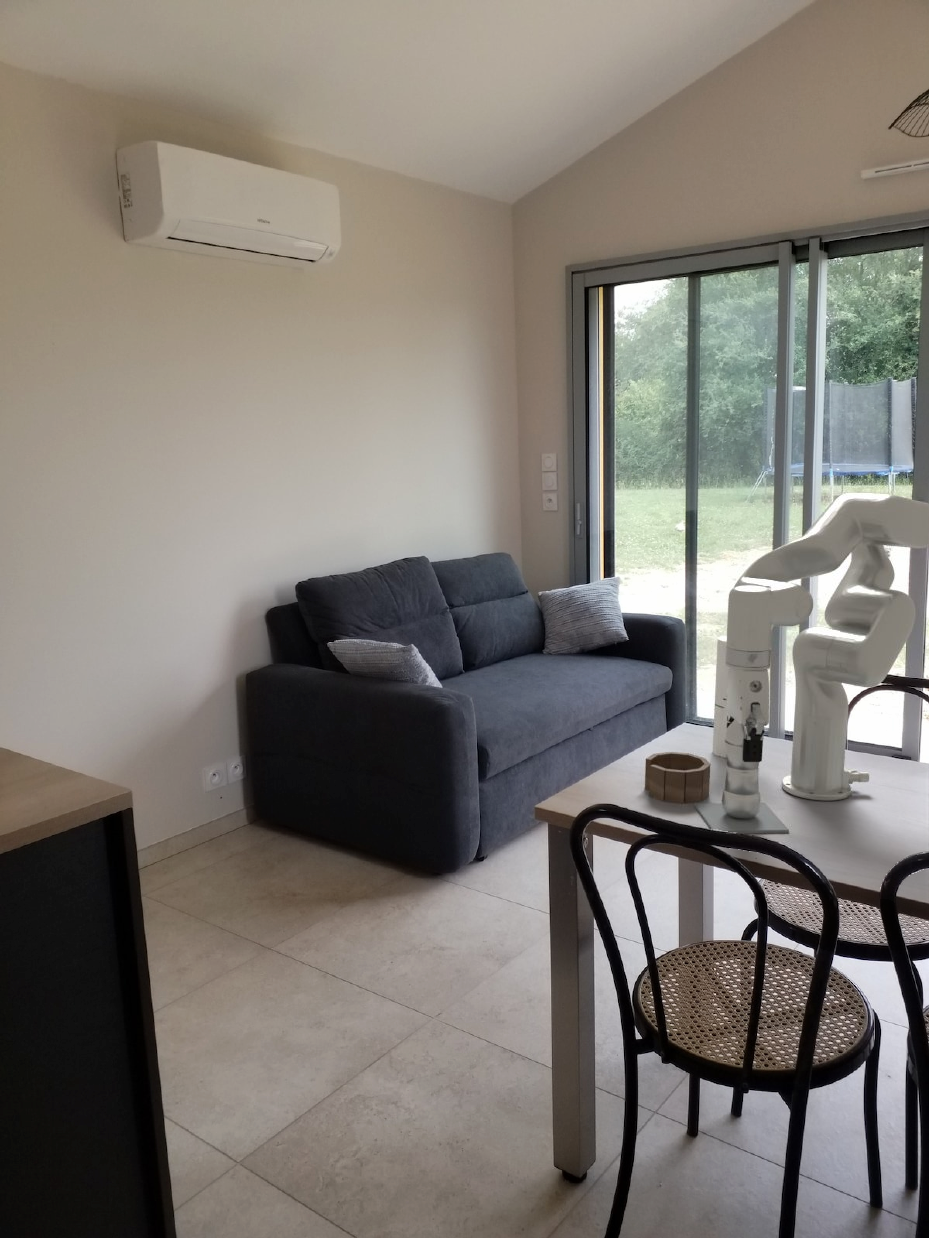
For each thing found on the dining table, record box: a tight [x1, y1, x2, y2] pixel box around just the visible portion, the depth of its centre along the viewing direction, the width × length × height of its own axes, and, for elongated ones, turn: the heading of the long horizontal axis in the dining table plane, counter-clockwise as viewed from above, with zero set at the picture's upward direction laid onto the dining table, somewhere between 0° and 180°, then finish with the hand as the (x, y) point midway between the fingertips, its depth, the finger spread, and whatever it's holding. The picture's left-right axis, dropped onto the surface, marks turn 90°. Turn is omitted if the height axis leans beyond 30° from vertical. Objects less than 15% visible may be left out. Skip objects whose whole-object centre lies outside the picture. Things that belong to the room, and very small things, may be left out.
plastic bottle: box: [721, 720, 762, 819], centre depth 177 cm, size 6×7×20 cm
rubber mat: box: [693, 802, 790, 834], centre depth 178 cm, size 13×13×1 cm
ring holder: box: [644, 751, 711, 804], centre depth 191 cm, size 12×12×6 cm
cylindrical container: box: [712, 635, 730, 759], centre depth 213 cm, size 7×7×25 cm
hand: (743, 752), depth 176 cm, fingers open, 9 cm apart
